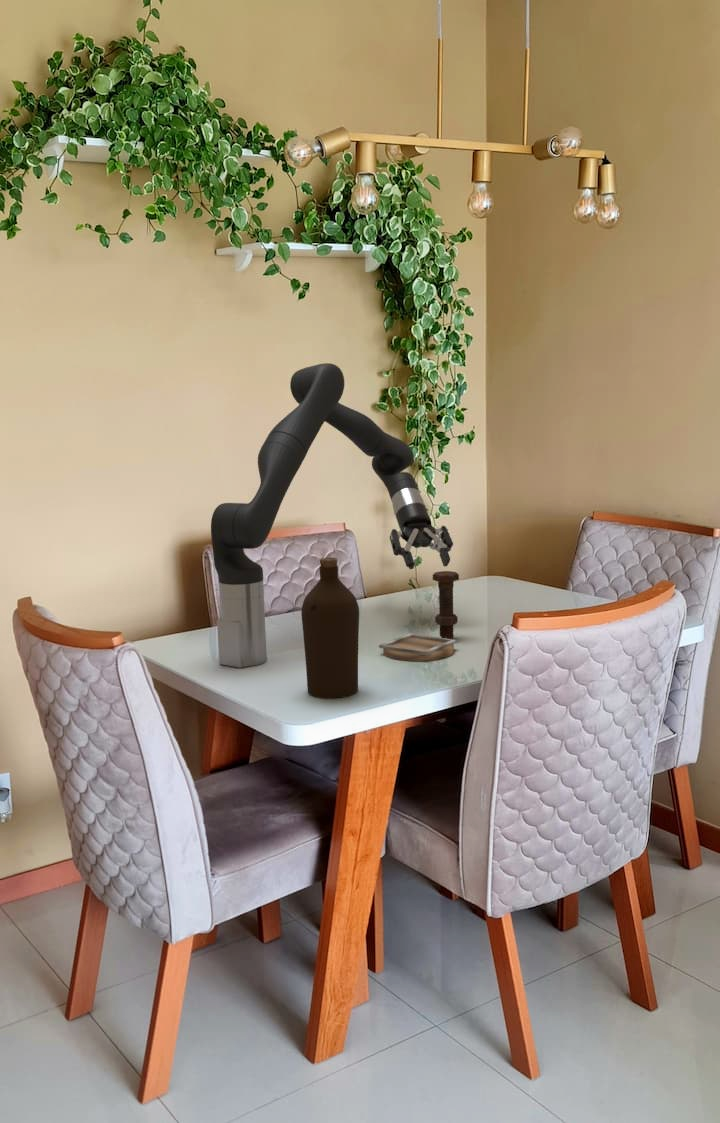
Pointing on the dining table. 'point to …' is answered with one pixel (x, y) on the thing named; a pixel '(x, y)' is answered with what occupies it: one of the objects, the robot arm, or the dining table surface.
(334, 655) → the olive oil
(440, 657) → the tray
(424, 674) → the dining table surface
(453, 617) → the bolt
